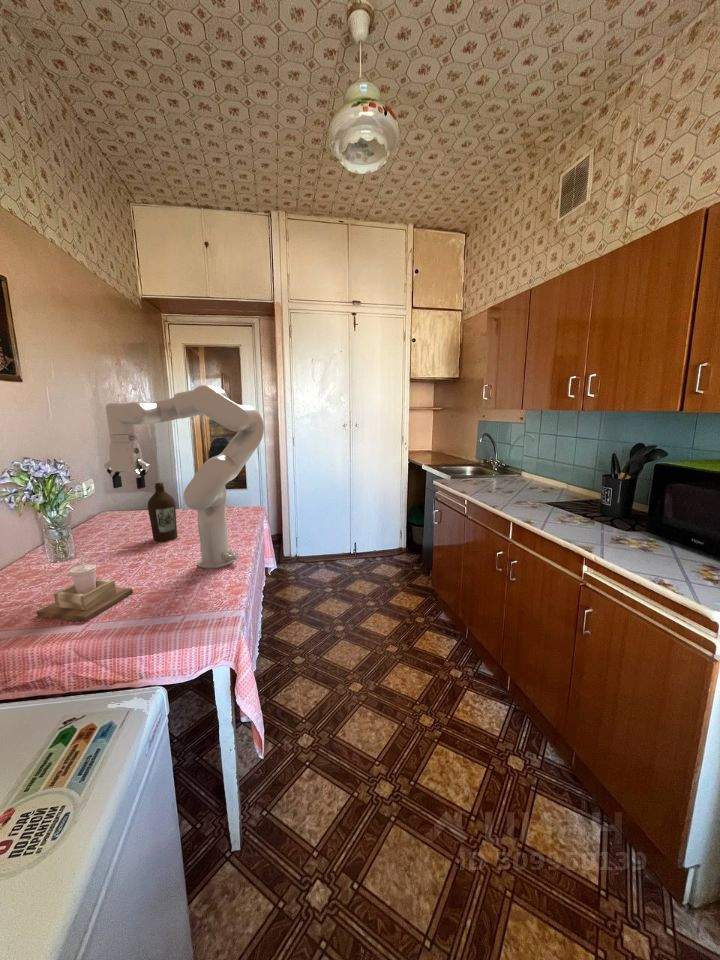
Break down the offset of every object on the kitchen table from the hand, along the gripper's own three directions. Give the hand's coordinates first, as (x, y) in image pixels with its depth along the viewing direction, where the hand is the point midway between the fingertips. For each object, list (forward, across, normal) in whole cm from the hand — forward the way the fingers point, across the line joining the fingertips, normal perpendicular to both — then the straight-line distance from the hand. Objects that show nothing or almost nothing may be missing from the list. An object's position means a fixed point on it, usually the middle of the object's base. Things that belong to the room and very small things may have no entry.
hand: (129, 487), depth 133 cm
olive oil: (+28, +9, -25) cm, 39 cm away
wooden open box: (+28, -8, +29) cm, 41 cm away
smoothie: (+27, -8, +29) cm, 40 cm away
